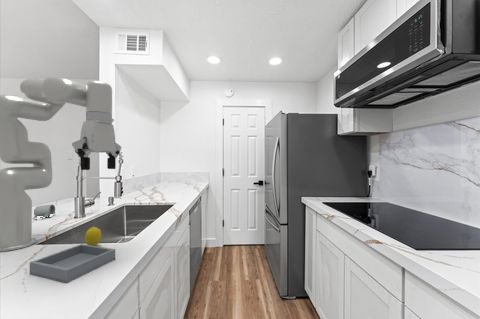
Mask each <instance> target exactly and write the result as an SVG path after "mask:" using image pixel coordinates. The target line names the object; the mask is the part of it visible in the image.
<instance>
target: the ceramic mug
mask: <svg viewBox="0 0 480 319" xmlns="http://www.w3.org/2000/svg"><path fill="white" fill-rule="evenodd" d="M50 214H54V215H56V207H55V205H54V204H45V205H44V204H43V205H37V206H36V207H35V208H34V210H33V215H34V216H33V217H34V219H35V218H36V217H37V216H43V217H47V216H50ZM43 217H40V218H43ZM47 218H48V217H47Z"/></svg>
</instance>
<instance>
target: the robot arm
mask: <svg viewBox="0 0 480 319" xmlns="http://www.w3.org/2000/svg"><path fill="white" fill-rule="evenodd" d="M19 90H20V91H21V94H23V96H20V95H15V94H0V160H1V162H3V163H5V164H10V165H12V164H13V165H18V164H19V165H29V164H30V165H32V166H12V167H5V168H2V169H0V252H10V251H14V250H19V249H23V248H27V247H30V246H32V245H34V244H36V242H37V238H35V237H32V234H33V233H32V228H33V226H32V224H33V221H32V220H33V218H32V217H33V216H32V215H33V204H32V203H33V202H32V199H31V196H30V195H29V194H28V193H27V192H26V191H28V190H39V189H45V188H47V187H50V186H51V184H52V181H53V165H52V164H53V162H52V153H51V149H50V147H49V146H48V145H47V144H45V143H43V142H39V141H38V142H37V141H31V140H29V134H28V129H27V128H26V126H25V125H24V123H23V122H22V121H21V120H19V119H24V120H32V121H37V122H46V121H50V120H51V119H53V117H54V116H56V114H57V113H58V112H59V111H60V110H61V109H62V108H64V106H65V105H66V104H67V103H68V104H71V105H76V106H80V107H83V108H85V121H83V123H82V125H81V130H80V137H79V138H80V139H78V140H76V141H73V142H72V143H71V146H72V148H73V149H74V153H76V155H78V157H79V158H80V161H79V162H80V170H81V171H89V170H90V169H91V158H90V157H89V156H90V155H91V153H105V154H106V155H107V156H108V157H107V160H106V161H107V163H106V164H107V167H106V168H107V169H108V170H115V169H116V165H117V164H116V160H117V158H118V156H119V154H120V151H121V150H122V146H121V145H120V144H118V142H116V134H115V127H114V124H113V123H114V121H115V120H114V118H113V88H112V86H111V84H109V83H107V82H104V81H100V80H91V81H88V82H87V83H86V84H83V83H80V82H78V81H74V80H72V79H68V78H65V77H56V76H47V77H45V78H34V77H33V78H32V77H31V78H27V79H25V80H22V81H21V82H20V85H19Z"/></svg>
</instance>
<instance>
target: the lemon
mask: <svg viewBox="0 0 480 319" xmlns="http://www.w3.org/2000/svg"><path fill="white" fill-rule="evenodd" d="M101 240H102V231H101V229H99V227H95V226H91V227H90V228H89V229H87V230H86V233H85V235H84V241H85V244H86V245H92V246H97V245H98V244H99V243H100V242H101Z"/></svg>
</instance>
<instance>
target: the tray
mask: <svg viewBox="0 0 480 319" xmlns="http://www.w3.org/2000/svg"><path fill="white" fill-rule="evenodd" d="M115 260H116V248H110V247H103V246H97V245H95V246H92V245H87V244H86V243H80V244H78V245H75V246H72V247H70V248H66V249H64V250H60V251H58V252H54V253H52V254H49V255H45V256H44V257H41V258H38V259H34V260H33V261H30V262H29V275H32V276H37V277H40V278H45V279H47V280H52V281H53V280H54V281H56V282H61V283H65V284H68V283H70V282H72V281H74V280H76V279H78V278H80V277H82V276H85V275H86V274H88V273H90V272H91V273H92V271H94V270H97V269H99V268H101V267H102V266H105V265H107V264H109V263H112V262H114V261H115Z"/></svg>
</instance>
